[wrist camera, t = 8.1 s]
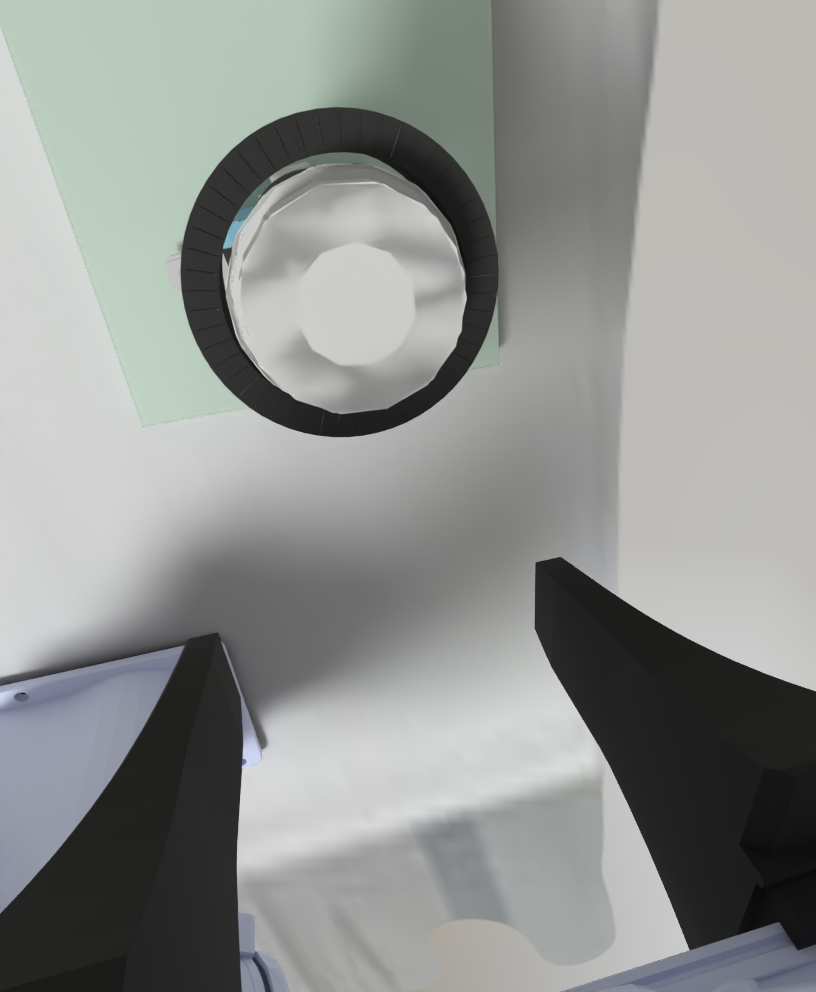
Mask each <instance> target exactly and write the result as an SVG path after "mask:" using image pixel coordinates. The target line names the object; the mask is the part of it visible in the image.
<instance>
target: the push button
mask: <svg viewBox="0 0 816 992" xmlns="http://www.w3.org/2000/svg"><path fill="white" fill-rule="evenodd" d="M340 152H348V153H358V154H365V155H368V156H370V157H373V158H375V159H378V160H379V161H381V162H383V163H385V164H387V165H389V166H390V167H391V168H393V169H394V170H396V171H397V172H398V173H400V174H401V175H402V176H403V177H404V178H405V179H406V180H405V179H403V178H401V177H399V176H397V175H395V174H393V173H391V172H389V171H387V170H385V169H383V168H381V167H378V166H375V165H371V164H367V163H342V164H321V165H317V166H312V167H311V165H310V164H309V163H308V162H306V161H305V162H301V163H297V164H294V165H291V166H288V165H290V164H292V163H294V162H296V161H299V160H302V159H305V158H308V157H311V156H315V155H321V154H326V153H340ZM286 166H288V167H286ZM284 167H285V168H284ZM269 177H270V180H271V183H272V184H270V185H269V186H268V187H267V188H266V189H265V191H264V192H263V193H262V194H261V195H259V196H258V197H259V202H258V203H257V204H255V205H252V206H249V207H245V208H242V209H240V208H241V207H242V205H243V204H244V202H245V201H246V200H247V198H248V197H249V196H250V195H251V194H252V193H253V191H254V190H255V189H256V188H257V187H258V186H259V185H261V184H262V183H263V182H264V181H265V180H266V179H267V178H269ZM164 269H165V272H166V274H167V276H168V278H169V280H170V282H171V285H172V287H173V289H174V290H175V291H177V292H180V291H182V297H183V303H184V308H185V312H186V316H187V319H188V323H189V326H190V329H191V331H192V334H193V336H194V339H195V341H196V343H197V345H198V347H199V349H200V351H201V353H202V355H203V357H204V358H205V360H206V361H207V363H208V364H209V366H210V368H211V369H212V371H213V372H214V373H215V374H216V376H217V377H218V378H219V379H220V381H221V382H222V383H223V384H224V385H225V386H226V387H227V388H228V389H229V390H230V391H231V392H232V393H233V394H234V395H235V396H236V397H237V398H238V399H239V400H241V401H242V402H243V403H244V404H246V405H247V406H248V407H250V408H251V409H253V410H254V411H256V412H257V413H259V414H260V415H262V416H264V417H265V418H267V419H269V420H271V421H273V422H275V423H277V424H280V425H282V426H285V427H287V428H290V429H293V430H296V431H300V432H303V433H308V434H313V435H318V436H328V437H353V436H363V435H368V434H373V433H378V432H381V431H385V430H388V429H391V428H394V427H396V426H399V425H401V424H404V423H406V422H408V421H410V420H412V419H414V418H415V417H417V416H419V415H421V414H422V413H424V412H425V411H427V410H428V409H430V408H431V407H433V406H434V405H435V404H436V403H438V402H439V401H440V400H441V399H443V398H444V397H445V396H446V395H447V394H448V393H449V392H450V391H451V390H452V389H453V388H454V387H455V386H456V385H457V383H458V382H459V381H460V380H461V379H462V377H463V376H464V375H465V374H466V372H467V371H468V369H469V368H470V366H471V365H472V363H473V362H474V360H475V358H476V356H477V355H478V353H479V351H480V349H481V347H482V345H483V343H484V340H485V338H486V336H487V333H488V330H489V327H490V324H491V321H492V318H493V314H494V309H495V305H496V298H497V291H498V255H497V248H496V242H495V237H494V233H493V229H492V225H491V222H490V219H489V216H488V213H487V211H486V208H485V206H484V203H483V201H482V199H481V197H480V195H479V193H478V191H477V190H476V188H475V186H474V185H473V183H472V181H471V180H470V178H469V177H468V175H467V174H466V172H465V171H464V170H463V169H462V168H461V166H460V165H459V164H458V163H457V161H456V160H455V159H454V158H453V157H452V156H451V155H450V154H449V153H448V152H447V151H446V150H445V149H444V148H443V147H442V146H441V145H439V144H438V143H437V142H435V141H434V140H433V139H432V138H430V137H429V136H428V135H426V134H425V133H423V132H421V131H420V130H418V129H416V128H415V127H413V126H411V125H410V124H407V123H405V122H403V121H401V120H398V119H396V118H394V117H391V116H388V115H385V114H382V113H378V112H375V111H370V110H364V109H359V108H347V107H330V108H317V109H312V110H307V111H302V112H297V113H294V114H291V115H288V116H285V117H282V118H279V119H277V120H275V121H273V122H271V123H269V124H267V125H265V126H263V127H261V128H260V129H258V130H256V131H255V132H253V133H252V134H250V135H249V136H247V137H246V138H245V139H243V140H242V141H241V142H240V143H239V144H238V145H236V146H235V147H234V148H233V149H232V150H231V151H230V152H229V153H228V154H227V155H226V156H225V157H224V158H223V159H222V160H221V162H220V163H219V164H218V165H217V167H216V168H215V169H214V171H213V172H212V173H211V175H210V176H209V178H208V179H207V180H206V182H205V184H204V186H203V188H202V189H201V191H200V193H199V195H198V197H197V199H196V201H195V203H194V206H193V208H192V211H191V213H190V216H189V219H188V223H187V226H186V230H185V233H184V239H183V245H182V251H181V253H178V254H174V255H171V256H169V257H168V260H167V262H165V264H164ZM224 283H226V291H225V285H224Z"/></svg>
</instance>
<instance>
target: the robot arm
mask: <svg viewBox="0 0 816 992" xmlns="http://www.w3.org/2000/svg"><path fill="white" fill-rule="evenodd" d="M535 630H536V632H537V635H538V637H539V639H540V642H541V644H542V647H543V649H544V651H545V653H546V656H547V658H548V660H549V662H550V664H551V667H552V668H553V670H554V672H555V673H556V675H557V677H558V679H559V680H560V682H561V684H562V685H563V687H564V689H565V690H566V692H567V694H568V695H569V697H570V699H571V700H572V702H573V704H574V705H575V707H576V709H577V710H578V712H579V714H580V715H581V717H582V719H583V720H584V722H585V724H586V725H587V727H588V729H589V730H590V732H591V734H592V735H593V737H594V739H595V740H596V742H597V744H598V745H599V747H600V749H601V750H602V752H603V754H604V756H605V758H606V760H607V761H608V763H609V765H610V767H611V769H612V771H613V773H614V776H615V778H616V780H617V782H618V784H619V786H620V788H621V790H622V792H623V795H624V797H625V799H626V801H627V803H628V805H629V807H630V809H631V812H632V814H633V816H634V818H635V821H636V823H637V825H638V827H639V829H640V831H641V834H642V836H643V838H644V840H645V843H646V845H647V847H648V849H649V852H650V854H651V857H652V859H653V861H654V864H655V866H656V868H657V871H658V873H659V876H660V878H661V880H662V883H663V885H664V887H665V890H666V892H667V894H668V897H669V899H670V902H671V904H672V907H673V909H674V912H675V914H676V917H677V919H678V922H679V924H680V927H681V929H682V932H683V934H684V937H685V939H686V942H687V944H688V947H689V949H690V951H687V952H684V953H680V954H678V955H674V956H671V957H668V958H665V959H662V960H658V961H655V962H652V963H649V964H646V965H643V966H640V967H637V968H633V969H631V970H627V971H624V972H621V973H618V974H615V975H612V976H608V977H605V978H602V979H599V980H596V981H593V982H590V983H587V984H584V985H580V986H577V987H574V988H571V989H568V990H565V991H562V992H816V691H813V690H810V689H807V688H804V687H801V686H798V685H795V684H792V683H789V682H786V681H783V680H781V679H778V678H775V677H773V676H770V675H767V674H764V673H762V672H760V671H757V670H755V669H752V668H750V667H748V666H745V665H743V664H740V663H738V662H735V661H733V660H731V659H729V658H726V657H724V656H722V655H720V654H718V653H716V652H714V651H712V650H709V649H707V648H705V647H703V646H701V645H699V644H697V643H695V642H693V641H691V640H689V639H687V638H685V637H683V636H682V635H680V634H678V633H676V632H674V631H673V630H671V629H669V628H667V627H666V626H664V625H662V624H661V623H659V622H657V621H655V620H654V619H652V618H650V617H649V616H647V615H645V614H643V613H642V612H640V611H639V610H637V609H636V608H634V607H633V606H631V605H630V604H628V603H626V602H625V601H623V600H622V599H620V598H619V597H617V596H616V595H614V594H613V593H611V592H610V591H608V590H607V589H606V588H604V587H603V586H601V585H600V584H598V583H597V582H596V581H594V580H593V579H591V578H590V577H588V576H587V575H586V574H584V573H583V572H581V571H580V570H579V569H577V568H576V567H574V566H573V565H572V564H570V563H569V562H567V561H566V560H564V559H563V558H561V557H558V558H554V559H549V560H545V561H540V562H536V573H535ZM20 693H26V694H20ZM261 760H262V749H261V747H260V744H259V741H258V738H257V735H256V732H255V729H254V726H253V724H252V721H251V718H250V715H249V712H248V709H247V706H246V704H245V701H244V698H243V695H242V692H241V689H240V686H239V683H238V681H237V678H236V675H235V672H234V669H233V666H232V663H231V661H230V658H229V655H228V652H227V649H226V646H225V644H224V643H223V642H222V641H221V640H220V637H219V634H218V633H214V634H210V635H205V636H201V637H196V638H192V639H189V640H188V641H187V642H186V644H185V645H183V646H179V647H174V648H170V649H165V650H161V651H156V652H152V653H147V654H143V655H138V656H134V657H129V658H125V659H120V660H116V661H111V662H107V663H102V664H98V665H93V666H89V667H84V668H80V669H75V670H71V671H66V672H62V673H57V674H53V675H48V676H44V677H39V678H35V679H30V680H26V681H21V682H17V683H12V684H8V685H3V686H0V992H290V990H289V988H288V983H287V981H286V978H285V975H284V972H283V970H282V968H281V966H280V965H279V963H278V961H277V960H276V959H275V958H274V957H273V956H272V955H271V954H269V953H267V952H264V951H255V946H254V915H252V914H247V913H242V912H239V911H238V897H237V837H238V821H239V806H240V791H241V775H242V768H246V767H250V766H253V765H256V764H258V763H259V762H261Z"/></svg>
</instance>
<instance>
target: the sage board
mask: <svg viewBox="0 0 816 992" xmlns="http://www.w3.org/2000/svg"><path fill="white" fill-rule="evenodd" d="M0 26H1V29H2V32H3V35H4V38H5V41H6V43H7V46H8V49H9V52H10V55H11V57H12V60H13V63H14V66H15V69H16V72H17V74H18V77H19V80H20V83H21V86H22V88H23V91H24V94H25V97H26V100H27V103H28V105H29V108H30V111H31V114H32V117H33V119H34V122H35V125H36V128H37V131H38V134H39V136H40V139H41V142H42V145H43V148H44V150H45V153H46V156H47V159H48V162H49V165H50V167H51V170H52V173H53V176H54V179H55V181H56V184H57V187H58V190H59V193H60V196H61V198H62V201H63V204H64V207H65V210H66V212H67V215H68V218H69V221H70V224H71V227H72V229H73V232H74V235H75V238H76V241H77V243H78V246H79V249H80V252H81V255H82V258H83V260H84V263H85V266H86V269H87V272H88V274H89V277H90V280H91V283H92V286H93V289H94V291H95V294H96V297H97V300H98V303H99V305H100V308H101V311H102V314H103V317H104V320H105V322H106V325H107V328H108V331H109V334H110V336H111V339H112V342H113V345H114V348H115V351H116V353H117V356H118V359H119V362H120V365H121V367H122V370H123V373H124V376H125V379H126V382H127V384H128V387H129V390H130V393H131V396H132V398H133V401H134V404H135V407H136V410H137V413H138V415H139V418H140V421H141V424H142V427H144V426H149V425H155V424H161V423H167V422H172V421H178V420H184V419H190V418H195V417H201V416H207V415H212V414H218V413H224V412H230V411H235V410H241V409H247V408H250V407H248V406H247V405H246V404H244V403H243V402H242V401H241V400H239V399H238V398H237V397H236V396H235V395H234V394H233V393H232V392H231V391H230V390H229V389H228V388H227V387H226V386H225V385H224V384H223V383H222V382H221V381H220V379H219V378H218V377H217V376H216V374H215V373H214V372H213V371H212V369H211V368H210V366H209V364H208V363H207V361H206V360H205V358H204V357H203V355H202V353H201V351H200V349H199V347H198V345H197V343H196V341H195V339H194V336H193V334H192V331H191V329H190V326H189V323H188V319H187V316H186V312H185V308H184V303H183V297H182V291H180V292H177V291H175V290H174V289H173V287H172V285H171V282H170V280H169V278H168V276H167V274H166V272H165V269H164V264H165V262H167V260H168V257H169V256H171V255H174V254H178V253H181V251H182V245H183V239H184V233H185V230H186V226H187V223H188V219H189V216H190V213H191V211H192V208H193V206H194V203H195V201H196V199H197V197H198V195H199V193H200V191H201V189H202V188H203V186H204V184H205V182H206V180H207V179H208V178H209V176H210V175H211V173H212V172H213V171H214V169H215V168H216V167H217V165H218V164H219V163H220V162H221V160H222V159H223V158H224V157H225V156H226V155H227V154H228V153H229V152H230V151H231V150H232V149H233V148H234V147H235V146H236V145H238V144H239V143H240V142H241V141H242V140H243V139H245V138H246V137H247V136H249V135H250V134H252V133H253V132H255V131H256V130H258V129H260V128H261V127H263V126H265V125H267V124H269V123H271V122H273V121H275V120H277V119H279V118H282V117H285V116H288V115H291V114H294V113H297V112H302V111H307V110H312V109H317V108H330V107H347V108H359V109H364V110H370V111H375V112H378V113H382V114H385V115H388V116H391V117H394V118H396V119H398V120H401V121H403V122H405V123H407V124H410V125H411V126H413V127H415V128H416V129H418V130H420V131H421V132H423V133H425V134H426V135H428V136H429V137H430V138H432V139H433V140H434V141H435V142H437V143H438V144H439V145H441V146H442V147H443V148H444V149H445V150H446V151H447V152H448V153H449V154H450V155H451V156H452V157H453V158H454V159H455V160H456V161H457V163H458V164H459V165H460V166H461V168H462V169H463V170H464V171H465V172H466V174H467V175H468V177H469V178H470V180H471V181H472V183H473V185H474V186H475V188H476V190H477V191H478V193H479V195H480V197H481V199H482V201H483V203H484V206H485V208H486V211H487V213H488V216H489V219H490V222H491V225H492V229H493V233H494V237H495V242H496V248H497V240H496V192H495V144H494V96H493V49H492V1H491V0H0ZM305 161H306V162H308V163H309V164H310V165H311V167H312V166H317V165H321V164H342V163H367V164H371V165H375V166H378V167H381V168H383V169H385V170H387V171H389V172H391V173H393V174H395V175H397V176H399V177H401V178H403V179H405V178H404V177H403V176H402V175H401V174H400V173H398V172H397V171H396V170H394V169H393V168H391V167H390V166H389V165H387V164H385V163H383V162H381V161H379V160H378V159H375V158H373V157H370V156H368V155H365V154H358V153H348V152H340V153H326V154H321V155H315V156H311V157H308V158H305V159H302V160H299V161H296V162H294V163H292V164H290V165H288V166H291V165H294V164H297V163H301V162H305ZM288 166H286V167H288ZM284 168H285V167H284ZM405 180H406V179H405ZM270 184H272V183H271V180H270V177H269V178H267V179H266V180H265V181H264V182H263V183H262V184H261V185H259V186H258V187H257V188H256V189H255V190H254V191H253V193H252V194H251V195H250V196H249V197H248V198H247V200H246V201H245V202H244V204H243V205H242V207H241V208H240V209H242V208H245V207H249V206H252V205H255V204H257V203H258V202H259V197H258V196H259V195H261V194H262V193H263V192H264V191H265V189H266V188H267V187H268V186H269V185H270ZM224 285H225V291H226V283H224ZM498 364H499V336H498V291H497V298H496V305H495V309H494V314H493V318H492V321H491V324H490V327H489V330H488V333H487V336H486V338H485V340H484V343H483V345H482V347H481V349H480V351H479V353H478V355H477V356H476V358H475V360H474V362H473V363H472V365H471V366H470V368H469V369H468V370H470V369H475V368H481V367H487V366H493V365H498Z"/></svg>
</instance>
